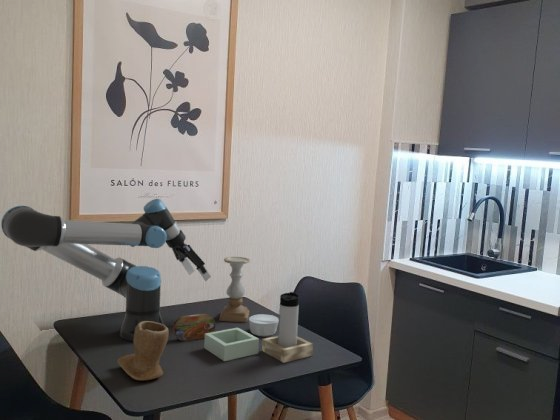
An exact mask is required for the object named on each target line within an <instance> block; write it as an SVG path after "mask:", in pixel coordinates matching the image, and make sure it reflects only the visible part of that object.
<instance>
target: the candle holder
mask: <svg viewBox="0 0 560 420" xmlns="http://www.w3.org/2000/svg"><path fill="white" fill-rule="evenodd" d="M223 262H224V263H227V264H229V266H230V268H231V272H230V273H229V276H230V278H231V282H230V284H229V285H228V287H227V289H226V296H228V297H229V298H228V299H227V303H228V304H227V305H224V307H223V309H222V311H221V312H220V314H219V319H218V320H219V321H220V322H231V323H247V322H249V318H250V309H248V307H247V306H244V305H242V304H243V303H244V300H243V297H244V296H245V293H246V292H245V288H244V287H243V284H242V282H241V279H242V278H243V276H244V274H243V273H242V268H243V267H244V265H245V264H248V263H250V259H249V258H247V257H242V256H228V257H225V258H224V259H223Z"/></svg>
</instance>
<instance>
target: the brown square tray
mask: <svg viewBox="0 0 560 420" xmlns="http://www.w3.org/2000/svg"><path fill="white" fill-rule="evenodd" d="M261 340H262V342H261V344H262V345H261V347H262V348H261V352H262V351H263V352H264V353H265V354H267V355H269V356H271V357H272V358H274V359H276V360H278V361H280V362H282V363H288V362H293V361H297V360H300V359H304V358H308V357H313V350H314V343H312V342H310V341H308V340H306V339H304V338H302V337H300V336H298V335H297V346H292V347H288V348H284V347H282V346H280V345H278V335H276V336H271V337H270V336H269V337H266V338H262V339H261Z"/></svg>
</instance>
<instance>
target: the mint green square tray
mask: <svg viewBox="0 0 560 420" xmlns="http://www.w3.org/2000/svg"><path fill="white" fill-rule="evenodd" d="M203 346H204V349H205V350H206V351H208V352H210V353H211V354H213V355H214V356H215V357H217V358H219V359H220V360H222V361H223V362H226V361H232V360H235V359H236V360H237V359H239V358H244V357H248V356H253V355H258V354H259V350H260V349H259V348H260V347H259V346H260V338H258V336H257V337H256V335H255V336H254V334H252V333H248V332H247V331H245V330H244V329H242V328H239V327H234V328H228V329H222V330H217V331H214V332H211V333H206V334H205V338H204V345H203Z"/></svg>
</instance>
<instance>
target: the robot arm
mask: <svg viewBox="0 0 560 420" xmlns="http://www.w3.org/2000/svg"><path fill="white" fill-rule="evenodd" d="M143 211H144V213H143V214H142V215H140V216H139V217H138V218H137V219H135V220H134V221H133V222H131V223H122V222H107V221H91V220H90V221H89V220H74V219H72V220H71V219H64V218H62V217H61V216H59V215H50V214H45V213H43V212H40V211H37V210H35V209H33V208H32V207H31V206H26V205H17V206H13V207H11V208H10V209H8V210H7V211H5V213H4V215H3V216H2V219H1V224H0V225H1V230H2V232H3V234H4V236H6V238H9V240H11V241H12V242H13V243H15V244H16V245H19V246H21V247H25V248H27V249H30V250H32V251H33V252H37V251H41V250H42V251H44V252H46V253H48V254H50V255H52V256H54V257H55V258H57V259H60V260H61V261H63V262H65V263H67V264H69V265H72V266H73V267H76V268H77V269H80V270H81V271H83V272H85V273H87V274H89V275H90V276H93V277H94V278H97V279H99V280H101V282H102V283H101V284H102V286H103V287H105V288H107V289H109V290H111V291H113V292H115V293H116V294H118V295H120V296H122V297H124V298H125V315H124V317H123V320H122V324H121V326H120V332H119V336H120V338H121V339H123V340H125V341H130V342H133V340H134V333H135V328H136V326H137V325H138V324H139V323H140V322H142V321H153V322H157V323H161V324H163V325H164V321H163V319H162V316H161V310H160V309H161V287H162V286H161V285H162V279H161V273H160V271H159V270H158V269H156V268H155V267H150V266H147V265H136V264H133V263H131V262H129V261H127V260H126V259H123V258H121V257H117V258H113V257H111V256H109V255H107V254H106V253H104V252H102V251H100V250H98V249H96V248H94V247H92V246H91V245H99V246H100V245H101V246H102V245H103V246H104V245H107V246H130V247H132V248H135V247H150V248H151V249H152V248H153V249H158V248H162V247H163V246H164V244H167V247H168V248H170V249H172V252H173V254H174V257H175V258H176V260H177V261H179V262H180V263H181V265H182V266H183V268H184V269H185V270H186V272H187V274H188V275H192V274H193V273H194V272H195V269H196V270H197V271H198V273H200V274H199V275H201V277H202V279H203V280H204V281H205V282H207V281H208V280H209V279H211V277H212V276H211V275H210V273H209V271H208V270H207V269H206V266H205V265H206V263H205V262H204V261H203V259H202V258H201V257H200V256H199V254H197V252H195V250H194V249H193V248H192V247H191V245H190V244H186V243H185V241H186V238H187V237H186V235H185V234H184V232H183V231H182V229H181V228H180V225H178V221H176V220H175V219H174V217H173V216H172V214H171V212H170V210H169V209H168V207H167V206H166V204H165V203H164V202H163V201H162V199H160V198H153V199H152V200H150V201H148V202H146V203H145V205H144V206H143ZM189 261H190V262H191V263H192V264H193V265H195V266H194V267H196V268H195V269H194V268H193V265H192V264H191V263H190V262H189Z"/></svg>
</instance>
